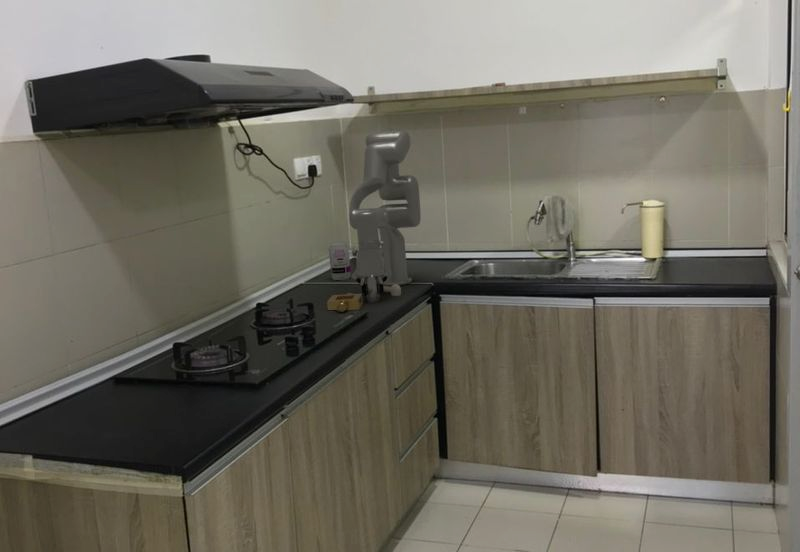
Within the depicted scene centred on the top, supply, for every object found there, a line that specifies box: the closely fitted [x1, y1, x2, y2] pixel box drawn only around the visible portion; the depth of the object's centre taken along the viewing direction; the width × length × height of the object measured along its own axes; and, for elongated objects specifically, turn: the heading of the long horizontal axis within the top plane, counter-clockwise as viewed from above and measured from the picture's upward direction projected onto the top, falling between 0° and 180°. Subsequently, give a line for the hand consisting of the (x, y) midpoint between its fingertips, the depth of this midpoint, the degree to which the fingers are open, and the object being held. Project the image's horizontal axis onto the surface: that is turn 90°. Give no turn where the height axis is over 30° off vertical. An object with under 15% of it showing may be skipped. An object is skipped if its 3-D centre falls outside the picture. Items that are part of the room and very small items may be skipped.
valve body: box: [326, 292, 364, 312], centre depth 302 cm, size 19×11×4 cm, turn 175°
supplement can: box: [328, 242, 352, 281], centre depth 359 cm, size 8×8×15 cm
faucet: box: [383, 273, 402, 297], centre depth 322 cm, size 4×18×10 cm, turn 42°
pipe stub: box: [365, 275, 381, 303], centre depth 309 cm, size 4×4×10 cm
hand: (373, 294), depth 309 cm, fingers open, 5 cm apart
